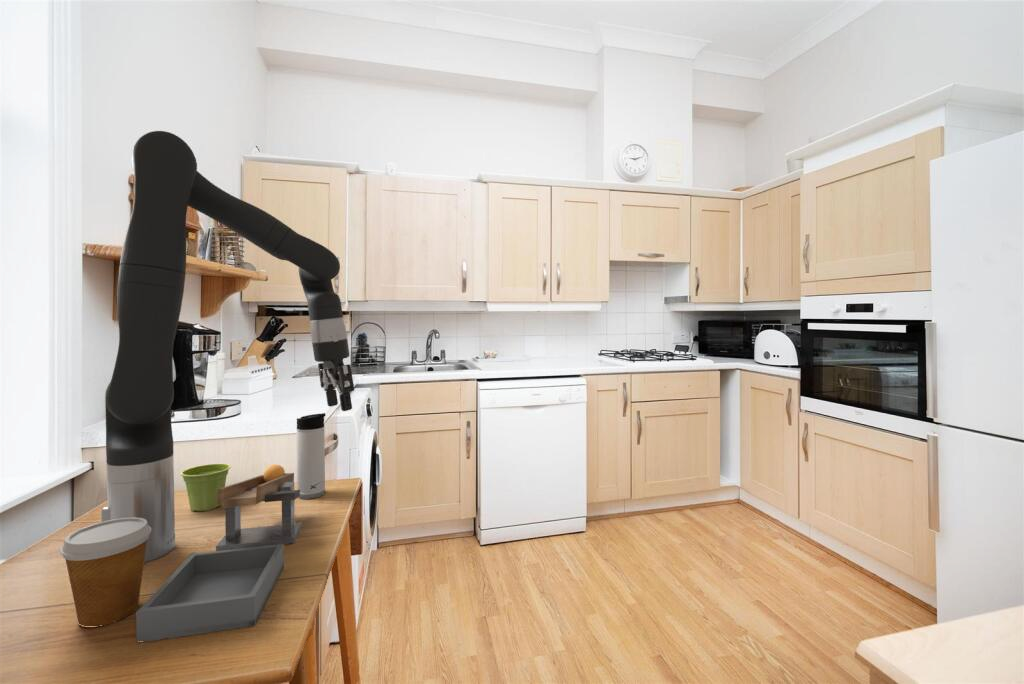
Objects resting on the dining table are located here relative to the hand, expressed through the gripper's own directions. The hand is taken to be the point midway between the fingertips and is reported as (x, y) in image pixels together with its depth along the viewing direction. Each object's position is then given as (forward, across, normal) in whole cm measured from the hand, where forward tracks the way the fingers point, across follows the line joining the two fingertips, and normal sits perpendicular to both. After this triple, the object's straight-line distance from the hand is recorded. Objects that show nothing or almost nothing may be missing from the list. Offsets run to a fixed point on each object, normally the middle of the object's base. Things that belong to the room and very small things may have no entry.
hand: (339, 407), depth 103 cm
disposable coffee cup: (+17, +19, -42) cm, 50 cm away
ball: (+11, -1, -15) cm, 19 cm away
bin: (+19, +26, -30) cm, 44 cm away
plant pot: (+19, -19, -26) cm, 38 cm away
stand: (+20, +8, -21) cm, 30 cm away
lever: (+14, +9, -18) cm, 25 cm away
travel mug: (+22, -10, -6) cm, 25 cm away
